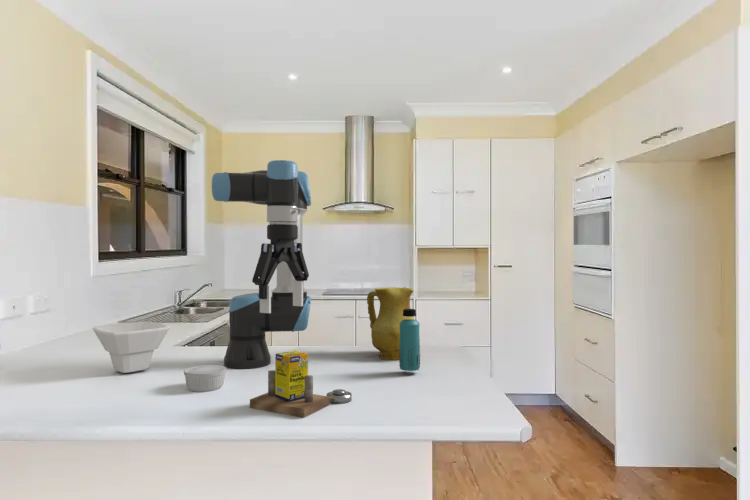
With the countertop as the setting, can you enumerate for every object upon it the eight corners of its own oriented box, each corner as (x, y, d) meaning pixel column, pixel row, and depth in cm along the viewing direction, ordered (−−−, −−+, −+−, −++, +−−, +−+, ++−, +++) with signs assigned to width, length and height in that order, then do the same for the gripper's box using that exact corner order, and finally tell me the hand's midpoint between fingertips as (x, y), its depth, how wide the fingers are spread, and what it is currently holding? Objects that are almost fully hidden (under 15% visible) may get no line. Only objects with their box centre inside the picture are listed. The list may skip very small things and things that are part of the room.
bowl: (175, 371, 165) (175, 326, 165) (110, 382, 151) (110, 334, 150) (149, 361, 178) (149, 320, 177) (87, 371, 163) (86, 327, 163)
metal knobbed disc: (321, 401, 133) (321, 392, 133) (334, 395, 139) (334, 386, 139) (343, 405, 130) (343, 395, 130) (356, 398, 136) (356, 389, 136)
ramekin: (182, 384, 149) (182, 366, 149) (223, 381, 153) (223, 363, 153) (185, 395, 139) (185, 375, 139) (228, 390, 143) (228, 371, 143)
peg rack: (249, 407, 128) (249, 374, 128) (277, 396, 138) (277, 365, 138) (304, 417, 121) (304, 382, 121) (329, 404, 130) (329, 372, 130)
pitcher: (385, 362, 175) (386, 287, 176) (361, 355, 192) (361, 286, 193) (429, 359, 183) (429, 287, 184) (401, 352, 200) (402, 286, 201)
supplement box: (288, 402, 126) (288, 356, 125) (274, 397, 130) (274, 353, 130) (308, 397, 130) (308, 353, 130) (294, 392, 134) (294, 349, 134)
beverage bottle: (418, 376, 159) (419, 310, 158) (397, 375, 160) (397, 309, 160) (421, 371, 165) (421, 307, 165) (400, 370, 166) (400, 307, 166)
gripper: (262, 222, 117) (263, 317, 118) (322, 224, 140) (321, 304, 140) (236, 222, 121) (236, 314, 121) (298, 224, 143) (298, 302, 144)
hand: (282, 309), depth 131 cm, fingers open, 13 cm apart
